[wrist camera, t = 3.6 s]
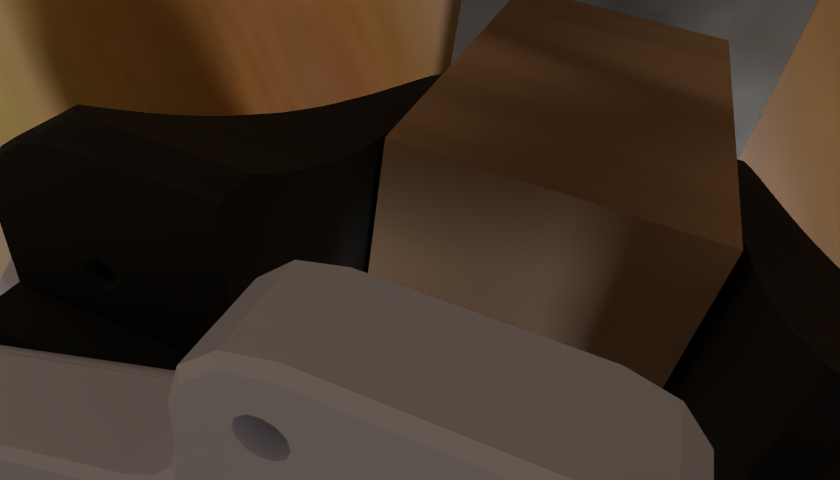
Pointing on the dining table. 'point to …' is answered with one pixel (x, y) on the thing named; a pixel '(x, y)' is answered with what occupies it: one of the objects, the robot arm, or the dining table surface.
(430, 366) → the robot arm
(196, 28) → the dining table surface
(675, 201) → the square peg block
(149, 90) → the dining table surface
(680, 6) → the grey peg holder tray
